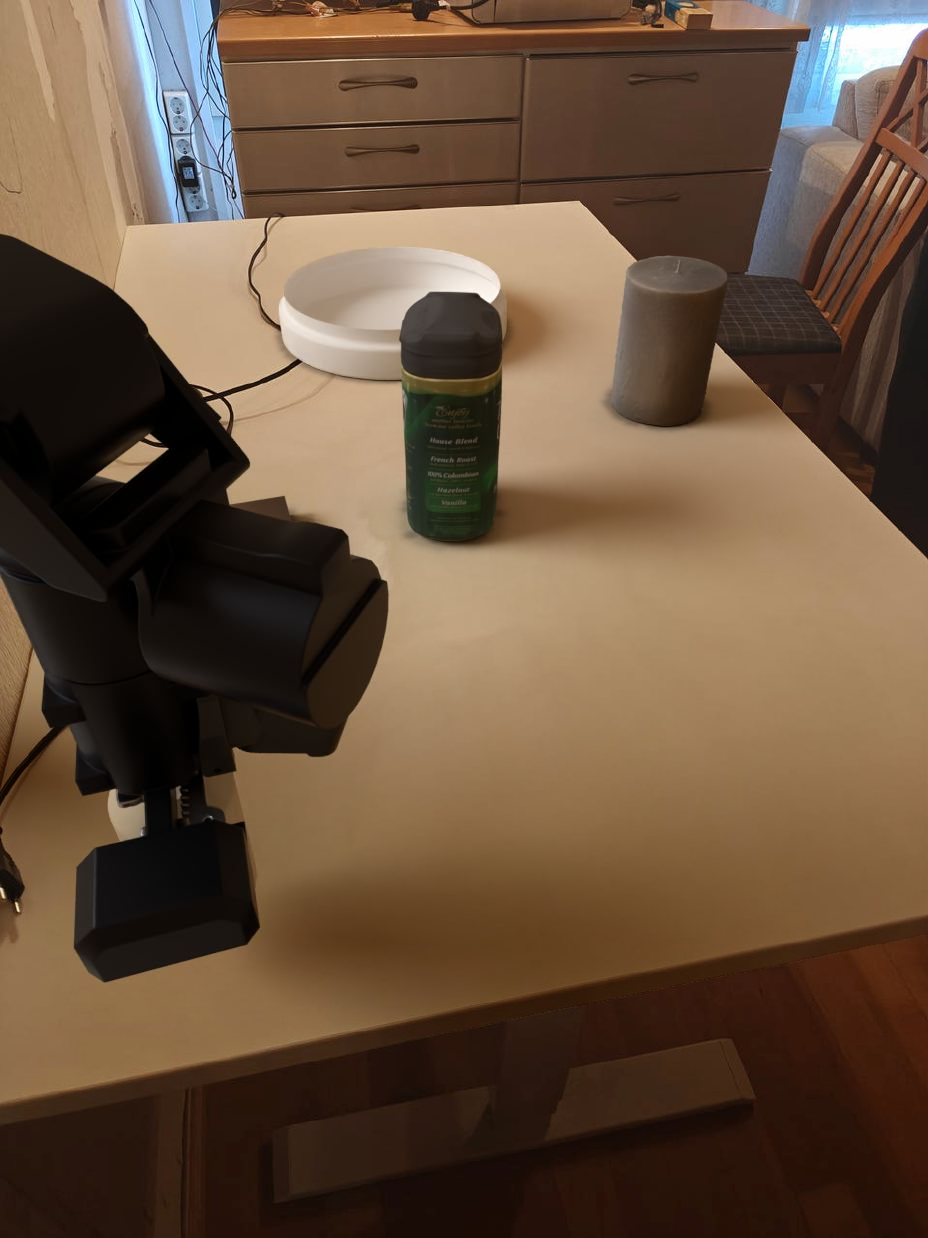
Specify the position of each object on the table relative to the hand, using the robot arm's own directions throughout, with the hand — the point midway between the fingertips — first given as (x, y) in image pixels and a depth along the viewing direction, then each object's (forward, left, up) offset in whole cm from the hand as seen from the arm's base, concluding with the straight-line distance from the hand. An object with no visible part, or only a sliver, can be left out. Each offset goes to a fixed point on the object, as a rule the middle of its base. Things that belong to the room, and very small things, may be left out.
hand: (199, 860), depth 43 cm
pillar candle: (+49, +47, -7) cm, 68 cm away
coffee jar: (+23, +34, -7) cm, 42 cm away
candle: (0, 0, -3) cm, 3 cm away
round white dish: (+27, +73, -7) cm, 78 cm away
